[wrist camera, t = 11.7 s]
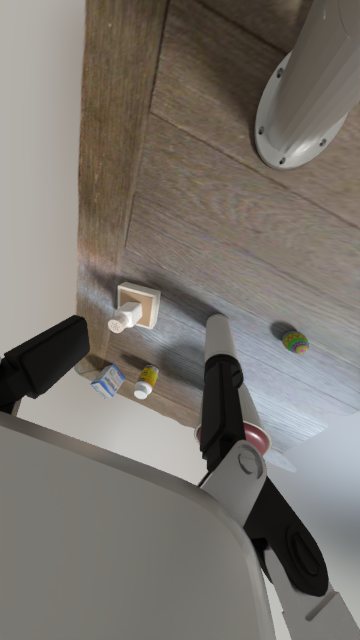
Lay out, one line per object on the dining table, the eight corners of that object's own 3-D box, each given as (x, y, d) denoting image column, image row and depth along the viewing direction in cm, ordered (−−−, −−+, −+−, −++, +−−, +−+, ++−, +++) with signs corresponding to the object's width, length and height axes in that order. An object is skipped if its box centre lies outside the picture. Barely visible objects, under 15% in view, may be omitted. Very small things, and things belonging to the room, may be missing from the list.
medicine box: (125, 377, 58) (113, 397, 51) (117, 380, 60) (104, 399, 52) (113, 363, 56) (98, 382, 48) (105, 366, 57) (89, 384, 50)
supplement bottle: (152, 361, 52) (140, 386, 43) (162, 372, 53) (152, 398, 44) (141, 367, 54) (128, 392, 45) (151, 377, 55) (140, 402, 47)
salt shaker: (142, 302, 37) (123, 318, 29) (143, 316, 39) (125, 336, 31) (127, 300, 38) (104, 316, 29) (129, 314, 39) (107, 333, 31)
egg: (301, 327, 37) (317, 340, 32) (300, 343, 39) (314, 358, 34) (279, 329, 38) (291, 343, 33) (279, 345, 40) (289, 359, 35)
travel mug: (200, 325, 42) (194, 383, 24) (216, 308, 39) (221, 361, 21) (218, 337, 43) (224, 402, 25) (234, 321, 40) (254, 383, 22)
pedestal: (125, 281, 40) (117, 285, 36) (161, 291, 39) (156, 296, 36) (124, 314, 45) (117, 320, 41) (156, 322, 44) (151, 329, 40)
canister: (227, 356, 45) (240, 433, 27) (265, 389, 48) (299, 478, 30) (187, 381, 53) (176, 454, 35) (222, 408, 56) (228, 488, 38)
